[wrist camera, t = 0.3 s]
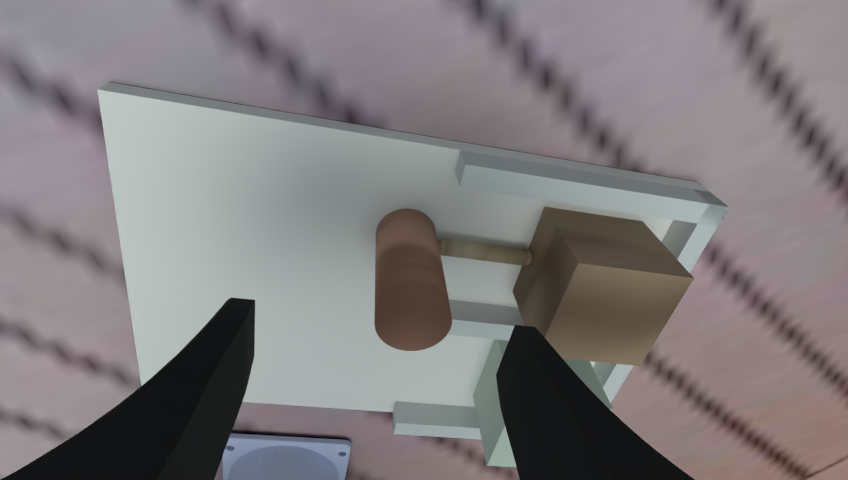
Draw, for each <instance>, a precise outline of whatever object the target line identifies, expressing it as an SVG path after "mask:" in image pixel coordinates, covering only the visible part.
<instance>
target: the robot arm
mask: <svg viewBox="0 0 848 480" xmlns="http://www.w3.org/2000/svg"><path fill="white" fill-rule="evenodd" d="M254 344H255V300H251V299H241V298H230V299H228V300H227V301H226V302H225V303H224V304H223V306H222V307H221V308H220V309H219V310H218V312H217V313H216V314H215V315H214V316H213V317H212V318H211V320H210V321H209V322H208V323H207V324H206V325H205V326H204V327H203V328H202V329H201V330H200V332H199V333H198V334H197V335H196V336H195V337H194V338H193V339H192V340H191V341H190V342H189V343H188V344H187V345H186V346H185V347H184V348H183V349H182V350H181V351H180V352H179V353H178V354H177V355H176V356H175V357H174V358H173V359H172V360H170V361H169V362H168V363H167V364H166V365H165V366H164V367H163V368H162V369H161V370H159V371H158V372H157V373H156V374H155V375H154V376H153V377H152V378H151V379H149V380H148V381H147V382H146V383H145V384H144V385H142V386H141V387H140V388H139V389H137V390H136V391H135V392H134V393H133V394H131V395H130V396H129V397H127V398H126V399H125V400H124V401H122V402H121V403H120V404H119V405H117V406H116V407H115V408H113V409H112V410H110V411H109V412H108V413H106V414H105V415H103V416H102V417H101V418H99V419H98V420H96V421H95V422H94V423H92V424H91V425H90V426H88V427H87V428H85V429H84V430H82V431H81V432H79V433H78V434H76V435H75V436H73V437H72V438H70V439H69V440H67V441H65V442H64V443H62V444H61V445H59V446H57V447H56V448H54V449H52V450H51V451H49V452H48V453H46V454H44V455H43V456H41V457H39V458H38V459H36V460H35V461H33V462H31V463H30V464H28V465H26V466H25V467H23V468H21V469H19V470H18V471H16V472H14V473H12V474H11V475H9V476H7V477H5V478H3V479H1V480H214V479H215V475H216V472H217V469H218V467H219V464H220V461H221V459H223V480H345V476H346V471H347V466H348V461H349V456H350V451H351V443H350V442H349V441H347V440H339V439H322V438H305V437H287V436H270V435H253V434H236V433H231V431H232V429H233V426H234V423H235V420H236V418H237V415H238V412H239V409H240V407H241V404H242V401H243V398H244V395H245V393H246V389H247V385H248V381H249V377H250V372H251V368H252V364H253V360H254ZM496 380H497V388H498V395H499V402H500V408H501V412H502V416H503V420H504V423H505V427H506V431H507V434H508V438H509V442H510V445H511V449H512V452H513V456H514V459H515V463H516V467H517V470H518V474H519V477H520V480H694V479H693V478H692V477H690V476H689V475H688V474H686V473H685V472H683V471H682V470H681V469H679V468H678V467H677V466H675V465H674V464H673V463H671V462H670V461H669V460H667V459H666V458H665V457H664V456H662V455H661V454H660V453H658V452H657V451H656V450H655V449H653V448H652V447H651V446H650V445H649V444H647V443H646V442H645V441H644V440H643V439H641V438H640V437H639V436H638V435H637V434H636V433H635V432H633V431H632V430H631V429H630V428H629V427H628V426H627V425H626V424H624V423H623V422H622V421H621V420H620V419H619V418H618V417H617V416H616V415H615V414H614V413H613V412H612V411H611V410H610V409H609V408H608V407H607V406H606V405H605V404H604V403H603V402H602V401H601V400H600V399H599V398H598V397H597V396H596V395H595V394H594V393H593V392H592V391H591V390H590V389H589V388H588V387H587V386H586V385H585V383H584V382H583V381H582V380H581V379H580V378H579V377H578V376H577V375H576V373H575V372H574V371H573V370H572V369H571V368H570V367H569V365H568V364H567V363H566V362H565V361H564V360H563V359H562V357H561V356H560V355H559V354H558V353H557V352H556V350H555V349H554V348H553V347H552V346H551V344H550V343H549V342H548V341H547V340H546V339H545V337H544V336H543V335H542V334H541V333H540V332H539V331H538V330H537V328H536V327H532V326H521V325H515V326H514V329H513V331H512V334H511V337H510V339H509V342H508V344H507V347H506V350H505V352H504V355H503V357H502V360H501V363H500V365H499V368H498V371H497V373H496Z"/></svg>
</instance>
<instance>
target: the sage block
mask: <svg viewBox="0 0 848 480" xmlns="http://www.w3.org/2000/svg"><path fill="white" fill-rule="evenodd" d="M508 342H509V341H508V340H497V339H494V341H493V344H492V346H491V349H490V352H489V354H488V357H487V360H486V362H485V365H484V368H483V370H482V373H481V376H480V378H479V381H478V383H477V386H476V389H475V391H474V394H473V399H474V404H475V409H476V414H477V419H478V424H479V429H480V434H481V439H482V444H483V449H484V454H485V459H486V464H487V466H504V467H516V463H515V459H514V456H513V452H512V449H511V445H510V442H509V438H508V434H507V431H506V427H505V423H504V420H503V416H502V412H501V408H500V402H499V395H498V388H497V380H496V373H497V371H498V368H499V365H500V363H501V360H502V357H503V355H504V352H505V350H506V347H507V344H508ZM563 360H564V361H565V362H566V363H567V364H568V365H569V367H570V368H571V369H572V370H573V371H574V372H575V373H576V375H577V376H578V377H579V378H580V379H581V380H582V381H583V382H584V383H585V385H586V386H587V387H588V388H589V389H590V390H591V391H592V392H593V393H594V394H595V395H596V396H597V397H598V398H599V399H600V400H601V401H602V402H603V403H604V404H605V405H606V406H607V407H608V408H609V409H610V410H611V411H613V408H612V406H611V404H610V402H609V400H608V398H607V396H606V393H605V391H604V389H603V387H602V385H601V383H600V381H599V379H598V377H597V375H596V373H595V371H594V369H593V367H592V365H591V363H590V361H582V360H571V359H563Z"/></svg>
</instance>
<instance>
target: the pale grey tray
mask: <svg viewBox="0 0 848 480" xmlns="http://www.w3.org/2000/svg"><path fill="white" fill-rule="evenodd" d="M98 96H99V103H100V110H101V116H102V123H103V130H104V137H105V143H106V150H107V157H108V164H109V170H110V177H111V184H112V191H113V197H114V204H115V211H116V217H117V224H118V231H119V238H120V244H121V251H122V258H123V265H124V271H125V278H126V285H127V292H128V298H129V305H130V312H131V319H132V325H133V332H134V339H135V346H136V352H137V359H138V366H139V372H140V379H141V386H142V385H144V384H145V383H146V382H147V381H148V380H149V379H151V378H152V377H153V376H154V375H155V374H156V373H157V372H158V371H159V370H161V369H162V368H163V367H164V366H165V365H166V364H167V363H168V362H169V361H170V360H172V359H173V358H174V357H175V356H176V355H177V354H178V353H179V352H180V351H181V350H182V349H183V348H184V347H185V346H186V345H187V344H188V343H189V342H190V341H191V340H192V339H193V338H194V337H195V336H196V335H197V334H198V333H199V332H200V330H201V329H202V328H203V327H204V326H205V325H206V324H207V323H208V322H209V321H210V320H211V318H212V317H213V316H214V315H215V314H216V313H217V312H218V310H219V309H220V308H221V307H222V306H223V304H224V303H225V302H226V301H227V300H228V299H230V298H241V299H251V300H255V344H254V360H253V364H252V368H251V372H250V377H249V381H248V385H247V389H246V393H245V395H244V398H243V401H242V402H251V403H266V404H280V405H295V406H309V407H324V408H338V409H353V410H367V411H382V412H393V434H401V435H418V436H434V437H451V438H467V439H481V434H480V429H479V424H478V419H477V414H476V409H475V404H474V399H473V394H474V391H475V389H476V386H477V383H478V381H479V378H480V376H481V373H482V370H483V368H484V365H485V362H486V360H487V357H488V354H489V352H490V349H491V346H492V344H493V341H494V339H497V340H508V341H509V339H510V337H511V334H512V331H513V329H514V326H515V325H521V326H525V324H524V322H523V319H522V316H521V313H520V311H519V308H518V305H517V303H516V300H515V297H514V294H513V292H512V291H513V288H514V286H515V283H516V280H517V278H518V275H519V272H520V270H521V267H522V265H514V264H506V263H498V262H490V261H482V260H475V259H467V258H459V257H451V256H443V255H441V261H442V266H443V271H444V277H445V282H446V287H447V293H448V298H449V304H450V309H451V314H452V325H451V329H450V331H449V333H448V334H447V336H446V337H445V338H444V339H443V340H442V341H440V342H439V343H438V344H436V345H434V346H432V347H430V348H427V349H424V350H419V351H404V350H399V349H395V348H393V347H391V346H389V345H387V344H386V343H384V342H383V341H382V340H381V339H380V338H379V336H378V335H377V333H376V330H375V324H374V319H375V250H376V229H377V226H378V224H379V222H380V221H381V220H382V218H384V217H385V216H386V215H387V214H389V213H391V212H393V211H395V210H398V209H415V210H418V211H421V212H423V213H424V214H426V215H427V216H428V217H429V218H430V219H431V220H432V222H433V223H434V225H435V229H436V234H437V239H440V238H447V239H455V240H462V241H470V242H477V243H485V244H492V245H499V246H507V247H514V248H522V249H529V246H530V243H531V241H532V238H533V235H534V233H535V230H536V227H537V225H538V222H539V220H540V217H541V214H542V212H543V209H544V206H545V207H552V208H558V209H565V210H572V211H578V212H585V213H592V214H598V215H605V216H611V217H618V218H625V219H631V220H638V221H643V222H644V223H645V225H646V226H647V227H648V228H649V229H650V230H651V231H652V232H653V233H654V234H655V236H656V237H657V238H658V239H659V240H660V241H661V242H662V243H663V244H664V246H665V247H666V248H667V249H668V250H669V251H670V252H671V253H672V254H673V255H674V257H675V258H676V259H677V260H678V261H679V262H680V263H681V264H682V265H683V267H684V268H685V269H686V270H687V271H688V272H689V273H690V271H691V270H692V268H693V266H694V265H695V263H696V261H697V260H698V258H699V256H700V255H701V253H702V251H703V250H704V248H705V246H706V245H707V243H708V241H709V240H710V238H711V236H712V235H713V233H714V232H715V230H716V228H717V227H718V225H719V223H720V222H721V220H722V218H723V217H724V215H725V213H726V212H727V210H728V208H729V207H728V206H727V205H726V204H725V203H723V202H722V201H721V200H719V199H718V198H717V197H716V196H714V195H713V194H712V193H711V192H709V191H708V190H707V189H706V188H704V187H703V186H702V185H700V184H699V183H698V182H693V181H687V180H681V179H675V178H669V177H664V176H658V175H652V174H646V173H640V172H634V171H628V170H622V169H617V168H611V167H605V166H599V165H593V164H587V163H581V162H575V161H569V160H564V159H558V158H552V157H546V156H540V155H534V154H528V153H522V152H517V151H511V150H505V149H499V148H493V147H487V146H481V145H475V144H470V143H464V142H458V141H452V140H446V139H440V138H434V137H428V136H422V135H417V134H411V133H405V132H399V131H393V130H387V129H381V128H375V127H370V126H364V125H358V124H352V123H346V122H340V121H334V120H328V119H322V118H317V117H311V116H305V115H299V114H293V113H287V112H281V111H275V110H270V109H264V108H258V107H252V106H246V105H240V104H234V103H228V102H223V101H217V100H211V99H205V98H199V97H193V96H187V95H181V94H175V93H170V92H164V91H158V90H152V89H146V88H140V87H134V86H128V85H123V84H117V83H111V82H110V83H108V84H106V85H105V86H103V87H101V88H99V89H98ZM590 363H591V365H592V367H593V369H594V371H595V373H596V375H597V377H598V379H599V381H600V383H601V385H602V387H603V389H604V391H605V393H606V396H607V398H608V400H609V402H610V403H611V402H612V400H613V398H614V397H615V395H616V393H617V392H618V390H619V388H620V387H621V385H622V384H623V382H624V380H625V379H626V377H627V375H628V374H629V372H630V370H631V369H632V367H633V365H624V364H614V363H603V362H592V361H590Z"/></svg>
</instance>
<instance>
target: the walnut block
mask: <svg viewBox="0 0 848 480" xmlns="http://www.w3.org/2000/svg"><path fill="white" fill-rule="evenodd" d="M441 255H443V256H451V257H459V258H467V259H475V260H482V261H490V262H498V263H506V264H514V265H522V267H521V270H520V272H519V275H518V278H517V280H516V283H515V286H514V288H513V291H512V292H513V294H514V297H515V300H516V303H517V305H518V308H519V311H520V313H521V316H522V319H523V322H524V324H525V326H532V327H536V328H537V330H538V331H539V332H540V333H541V334H542V335H543V336H544V337H545V339H546V340H547V341H548V342H549V343H550V344H551V346H552V347H553V348H554V349H555V350H556V352H557V353H558V354H559V355H560V356H561V357H562V359H571V360H582V361H592V362H603V363H614V364H624V365H635V366H640V365H641V363H642V362H643V360H644V359H645V357H646V355H647V354H648V352H649V350H650V349H651V347H652V346H653V344H654V342H655V341H656V339H657V338H658V336H659V334H660V333H661V331H662V329H663V328H664V326H665V325H666V323H667V321H668V320H669V318H670V316H671V315H672V313H673V312H674V310H675V308H676V307H677V305H678V303H679V302H680V300H681V299H682V297H683V295H684V294H685V292H686V290H687V289H688V287H689V286H690V284H691V282H692V281H693V279H694V278H693V276H692V275H691V274H690V273H689V272H688V271H687V270H686V269H685V268H684V267H683V265H682V264H681V263H680V262H679V261H678V260H677V259H676V258H675V257H674V255H673V254H672V253H671V252H670V251H669V250H668V249H667V248H666V247H665V246H664V244H663V243H662V242H661V241H660V240H659V239H658V238H657V237H656V236H655V234H654V233H653V232H652V231H651V230H650V229H649V228H648V227H647V226H646V225H645V223H644V222H643V221H638V220H631V219H625V218H618V217H611V216H605V215H598V214H592V213H585V212H578V211H572V210H565V209H558V208H552V207H545V206H544V209H543V212H542V214H541V217H540V220H539V222H538V225H537V227H536V230H535V233H534V235H533V238H532V241H531V243H530V246H529V249H522V248H514V247H507V246H499V245H492V244H485V243H477V242H470V241H462V240H455V239H447V238H440V239H437V234H436V229H435V225H434V223H433V222H432V220H431V219H430V218H429V217H428V216H427V215H426V214H424V213H423V212H421V211H418V210H415V209H398V210H395V211H393V212H391V213H389V214H387V215H386V216H385V217H384V218H382V220H381V221H380V222H379V224H378V226H377V229H376V250H375V319H374V324H375V330H376V333H377V335H378V336H379V338H380V339H381V340H382V341H383V342H384V343H386V344H387V345H389V346H391V347H393V348H395V349H399V350H404V351H419V350H424V349H427V348H430V347H432V346H434V345H436V344H438V343H439V342H440V341H442V340H443V339H444V338H445V337H446V336H447V334H448V333H449V331H450V329H451V325H452V314H451V309H450V304H449V298H448V293H447V287H446V282H445V277H444V271H443V266H442V261H441Z"/></svg>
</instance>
